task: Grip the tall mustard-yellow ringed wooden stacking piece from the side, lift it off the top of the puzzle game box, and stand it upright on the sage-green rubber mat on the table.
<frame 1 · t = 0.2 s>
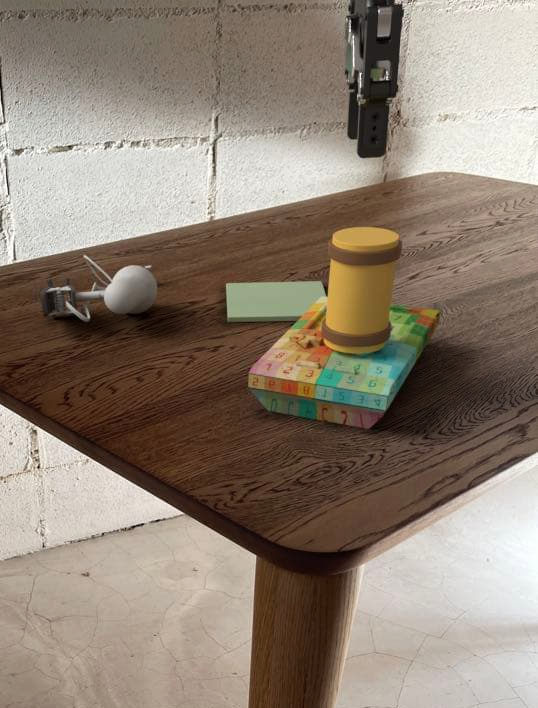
hand: (364, 147, 73), 19 cm above the table, tool pointing down, fingers open, 8 cm apart
green mat: (276, 303, 97), on the table
puzzle game: (346, 381, 80), on the table, touching stacking piece
stacking piece: (354, 342, 75), point 5 cm above the table, touching puzzle game
clip-on lamp: (106, 311, 98), on the table
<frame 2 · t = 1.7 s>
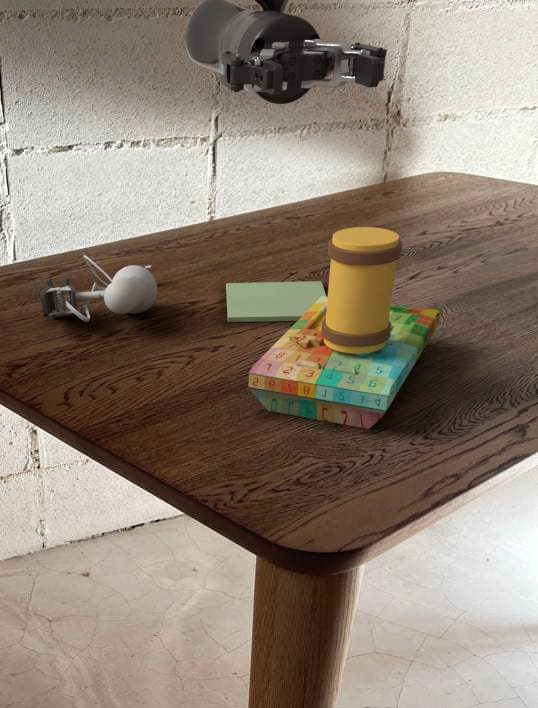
hand: (327, 76, 73), 24 cm above the table, tool horizontal, fingers open, 8 cm apart
nothing on the table moved.
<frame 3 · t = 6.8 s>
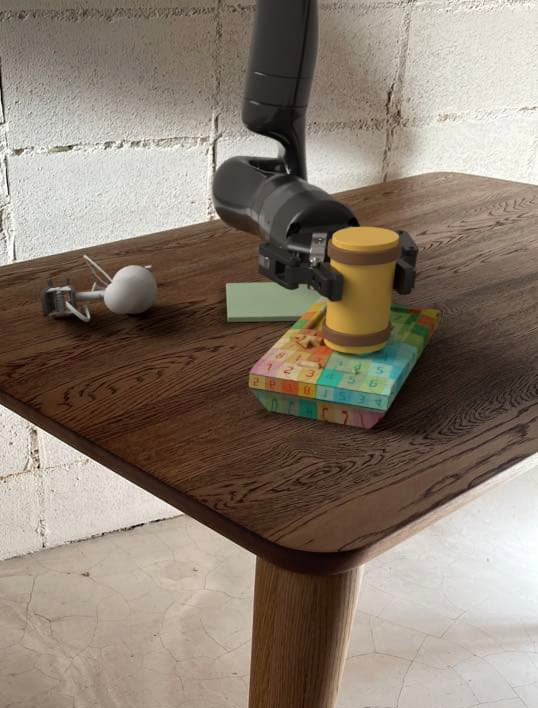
hand: (373, 286, 70), 10 cm above the table, tool horizontal, fingers closed on stacking piece, 5 cm apart
stacking piece: (354, 341, 75), point 5 cm above the table, touching gripper, puzzle game
everything else where it was.
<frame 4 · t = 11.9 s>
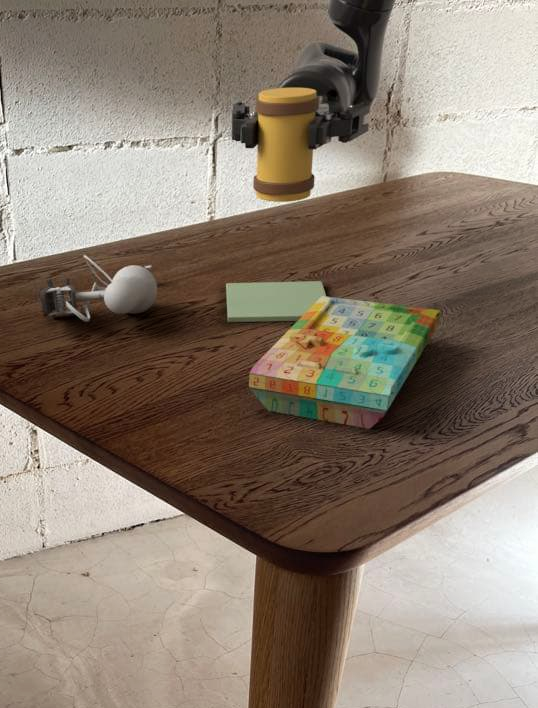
hand: (280, 136, 79), 19 cm above the table, tool horizontal, fingers closed on stacking piece, 5 cm apart
puzzle game: (346, 381, 80), on the table
stacking piece: (283, 194, 85), point 13 cm above the table, touching gripper
everything else where it was.
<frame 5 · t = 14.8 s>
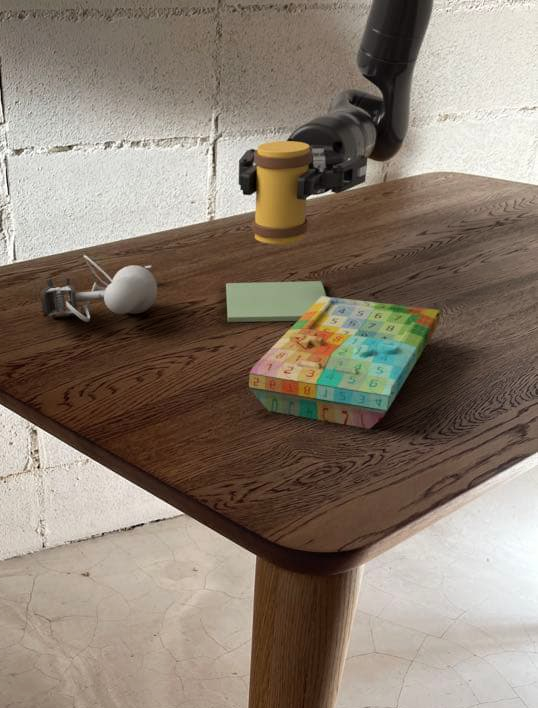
hand: (273, 186, 88), 13 cm above the table, tool horizontal, fingers closed on stacking piece, 5 cm apart
stacking piece: (279, 236, 93), point 7 cm above the table, touching gripper
everything else where it was.
when the fingers open (6 cm above the table, at t = 17.1 s): stacking piece stays where it is, resting on green mat.
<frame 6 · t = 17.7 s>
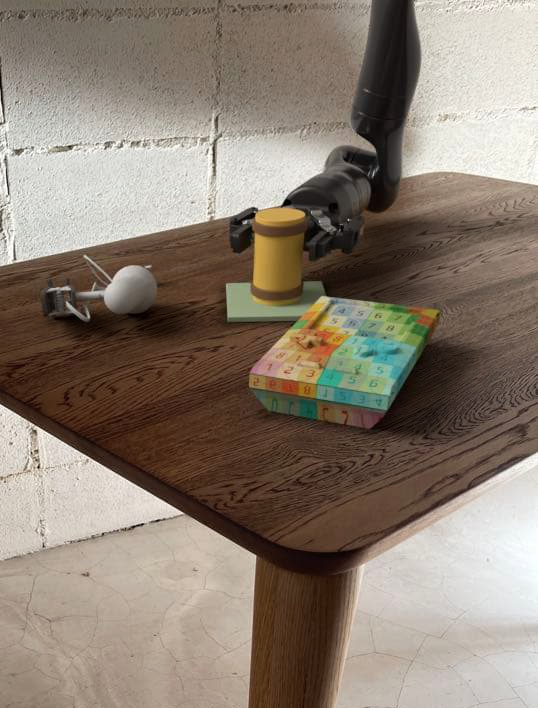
hand: (273, 248, 92), 7 cm above the table, tool horizontal, fingers open, 8 cm apart
stacking piece: (276, 297, 97), point 1 cm above the table, touching green mat
everything else where it was.
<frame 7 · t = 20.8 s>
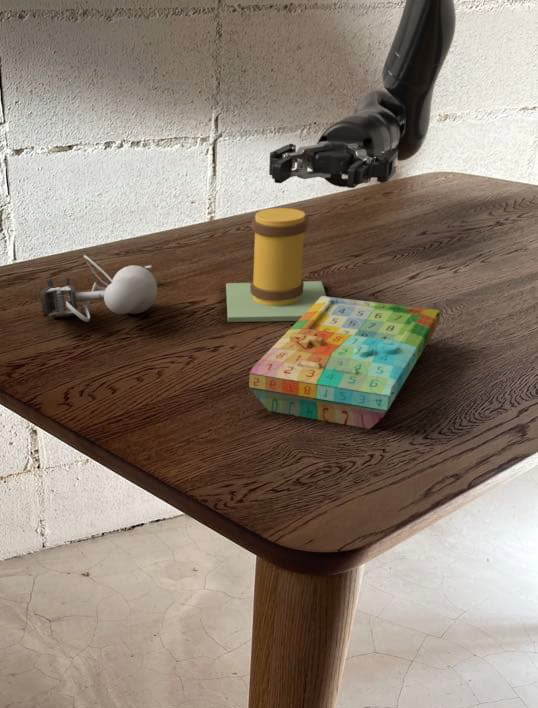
hand: (313, 176, 98), 11 cm above the table, tool horizontal, fingers open, 8 cm apart
nothing on the table moved.
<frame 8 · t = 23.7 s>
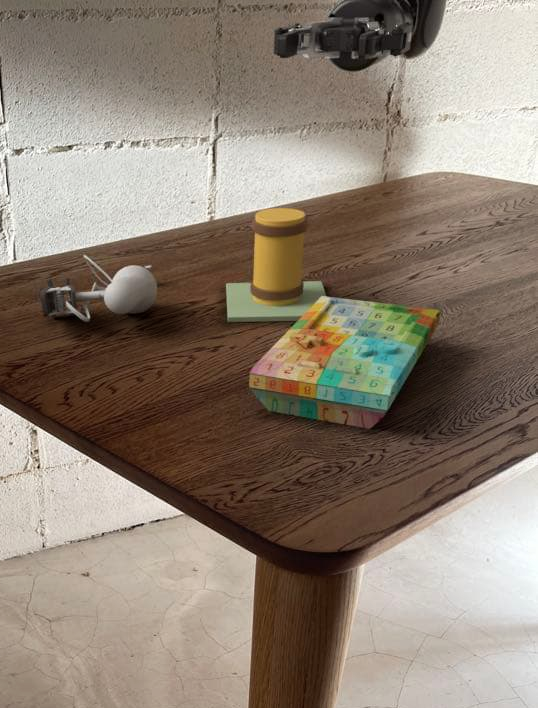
hand: (321, 47, 91), 24 cm above the table, tool horizontal, fingers open, 8 cm apart
nothing on the table moved.
at the end: stacking piece inside the target area on the green mat (0.1 cm from its centre), point 0.6 cm above the green mat's base; stacking piece tilted 0°; stacking piece touching green mat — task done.
